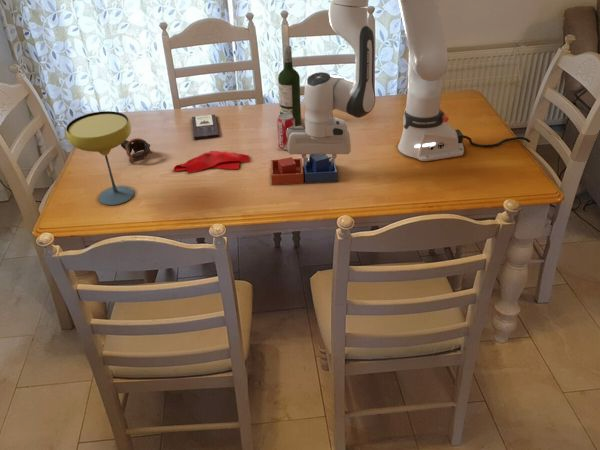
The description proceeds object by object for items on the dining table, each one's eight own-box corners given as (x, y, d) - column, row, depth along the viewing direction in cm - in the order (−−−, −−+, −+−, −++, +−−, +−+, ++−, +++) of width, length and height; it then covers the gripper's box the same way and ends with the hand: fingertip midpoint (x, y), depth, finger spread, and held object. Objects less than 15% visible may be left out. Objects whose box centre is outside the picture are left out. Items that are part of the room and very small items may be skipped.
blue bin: (333, 165, 189) (333, 156, 187) (336, 181, 181) (337, 172, 179) (303, 167, 189) (303, 158, 187) (305, 183, 181) (305, 173, 179)
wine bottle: (276, 125, 215) (272, 47, 198) (287, 117, 221) (284, 41, 203) (294, 129, 212) (290, 51, 194) (304, 121, 217) (302, 44, 200)
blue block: (322, 164, 186) (322, 151, 184) (329, 170, 183) (329, 157, 180) (309, 167, 185) (309, 154, 182) (315, 174, 181) (315, 161, 179)
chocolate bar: (194, 137, 207) (191, 117, 222) (194, 139, 208) (192, 119, 222) (218, 134, 208) (214, 114, 223) (218, 136, 209) (215, 116, 223)
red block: (292, 169, 187) (291, 157, 184) (296, 176, 183) (296, 163, 180) (278, 172, 186) (277, 159, 183) (282, 179, 182) (281, 166, 179)
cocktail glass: (145, 207, 172) (128, 133, 157) (84, 216, 169) (61, 141, 155) (145, 178, 186) (130, 107, 172) (89, 185, 184) (68, 114, 169)
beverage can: (293, 151, 198) (292, 120, 191) (276, 150, 199) (274, 119, 192) (297, 143, 203) (296, 112, 196) (280, 142, 204) (278, 111, 197)
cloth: (250, 150, 200) (249, 144, 199) (250, 169, 189) (249, 163, 187) (177, 154, 199) (176, 148, 198) (172, 174, 188) (171, 168, 187)
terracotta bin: (301, 167, 189) (301, 158, 187) (303, 183, 181) (303, 173, 179) (271, 168, 189) (271, 159, 187) (271, 184, 180) (271, 175, 178)
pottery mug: (158, 152, 202) (154, 140, 194) (146, 174, 198) (141, 162, 190) (128, 141, 203) (123, 128, 195) (115, 162, 199) (109, 150, 191)
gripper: (285, 130, 173) (286, 169, 181) (351, 130, 172) (350, 169, 180) (286, 121, 178) (288, 160, 186) (351, 121, 177) (350, 159, 185)
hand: (319, 164), depth 183 cm, fingers closed on blue block, 6 cm apart
